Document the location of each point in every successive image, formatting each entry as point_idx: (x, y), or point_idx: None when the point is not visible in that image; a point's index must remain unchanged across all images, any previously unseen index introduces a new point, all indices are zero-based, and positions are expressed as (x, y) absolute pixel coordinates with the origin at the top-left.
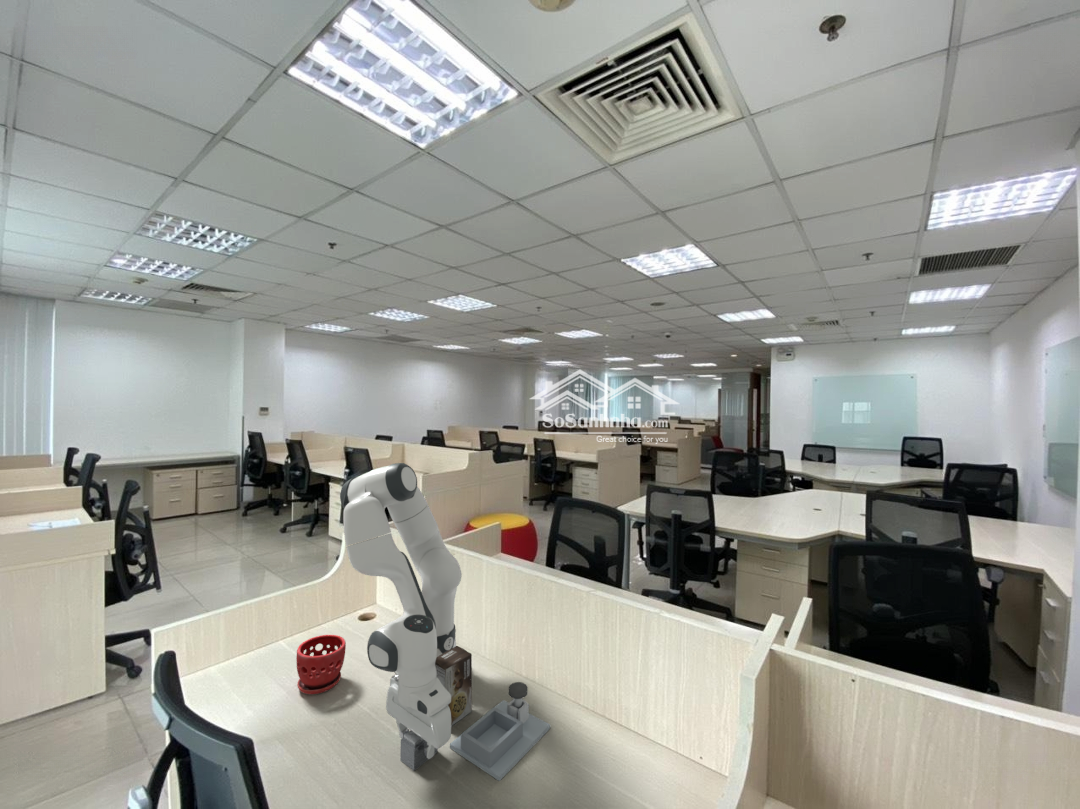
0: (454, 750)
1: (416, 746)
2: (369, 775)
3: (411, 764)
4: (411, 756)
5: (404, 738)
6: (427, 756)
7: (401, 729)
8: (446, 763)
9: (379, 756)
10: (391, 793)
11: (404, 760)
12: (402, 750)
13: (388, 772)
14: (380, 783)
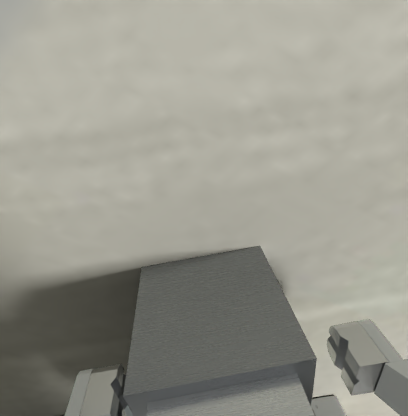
0: (127, 405)
1: (146, 411)
2: (321, 55)
3: (163, 281)
4: (163, 321)
5: (291, 389)
6: (81, 384)
7: (396, 378)
8: (85, 369)
9: (384, 178)
10: (58, 100)
11: (228, 263)
12: (262, 299)
13: (239, 165)
14: (197, 82)
